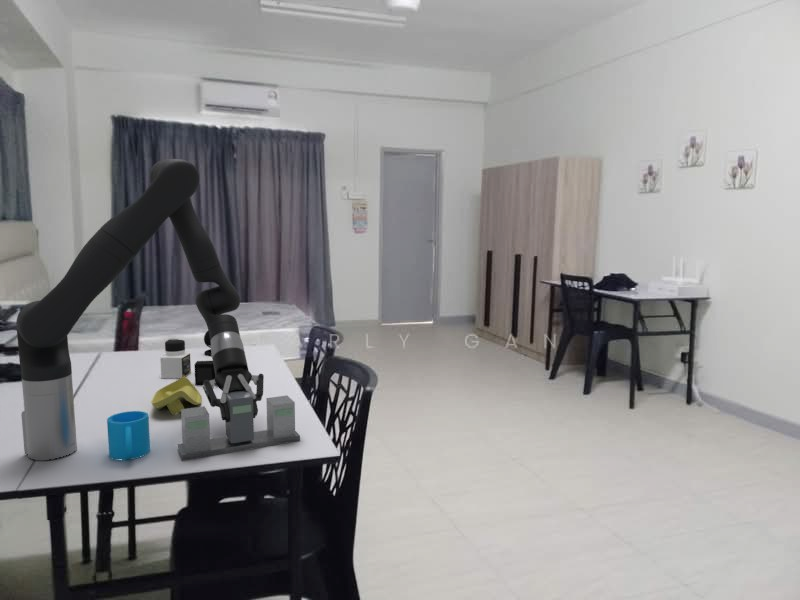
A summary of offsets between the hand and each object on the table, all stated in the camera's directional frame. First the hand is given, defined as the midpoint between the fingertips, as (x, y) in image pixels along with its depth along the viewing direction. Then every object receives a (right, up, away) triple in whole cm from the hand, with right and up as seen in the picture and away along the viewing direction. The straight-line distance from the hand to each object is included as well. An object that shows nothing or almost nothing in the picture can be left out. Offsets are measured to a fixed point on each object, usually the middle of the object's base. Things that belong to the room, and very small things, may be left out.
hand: (241, 418), depth 130 cm
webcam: (-35, +6, +92) cm, 99 cm away
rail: (-1, -6, +2) cm, 7 cm away
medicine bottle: (-38, +1, +61) cm, 72 cm away
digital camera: (-23, 0, +52) cm, 57 cm away
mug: (-23, -7, -4) cm, 24 cm away
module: (-1, -5, +2) cm, 5 cm away
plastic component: (-26, -3, +29) cm, 39 cm away
